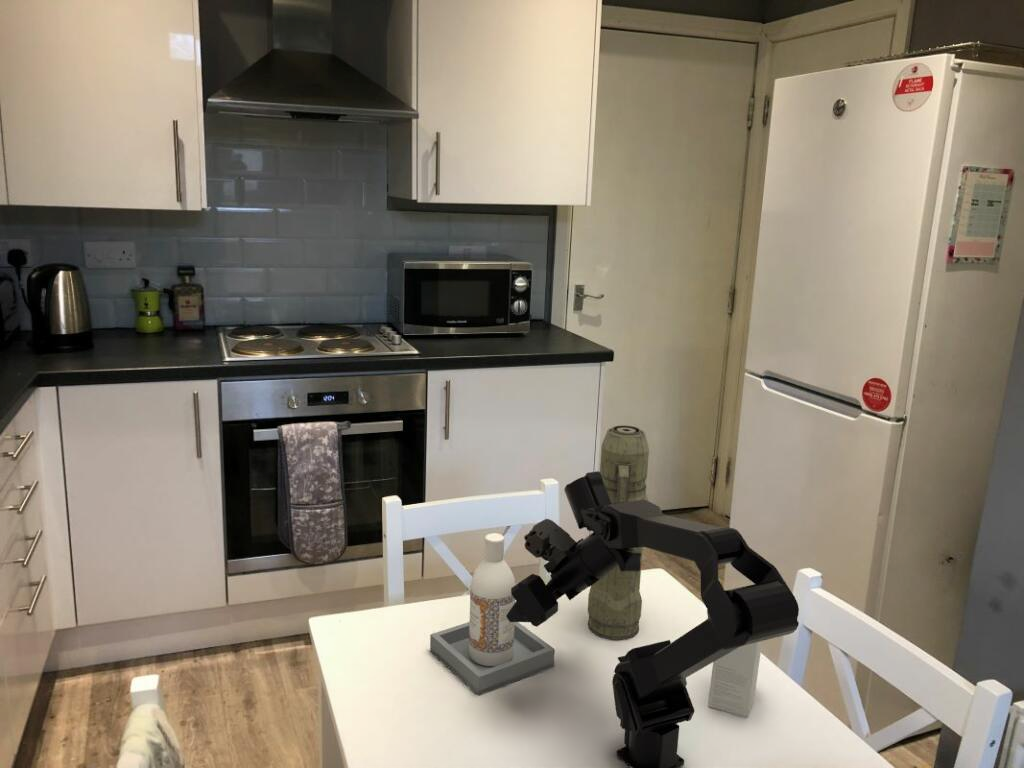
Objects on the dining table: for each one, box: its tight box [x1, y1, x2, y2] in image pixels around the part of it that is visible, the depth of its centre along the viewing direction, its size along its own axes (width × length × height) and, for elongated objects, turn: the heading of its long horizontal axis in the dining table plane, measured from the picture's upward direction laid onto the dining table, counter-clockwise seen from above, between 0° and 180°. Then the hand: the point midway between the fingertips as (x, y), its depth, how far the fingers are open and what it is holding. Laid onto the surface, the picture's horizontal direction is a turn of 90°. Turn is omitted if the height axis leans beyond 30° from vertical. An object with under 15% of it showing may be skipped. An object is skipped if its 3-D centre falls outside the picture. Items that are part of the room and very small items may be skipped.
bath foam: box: [469, 532, 516, 666], centre depth 129 cm, size 7×7×20 cm
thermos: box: [587, 424, 650, 642], centre depth 138 cm, size 9×12×35 cm
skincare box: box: [707, 641, 763, 718], centre depth 122 cm, size 8×6×15 cm
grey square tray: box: [429, 621, 556, 696], centre depth 131 cm, size 14×14×3 cm
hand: (525, 606), depth 125 cm, fingers open, 9 cm apart
